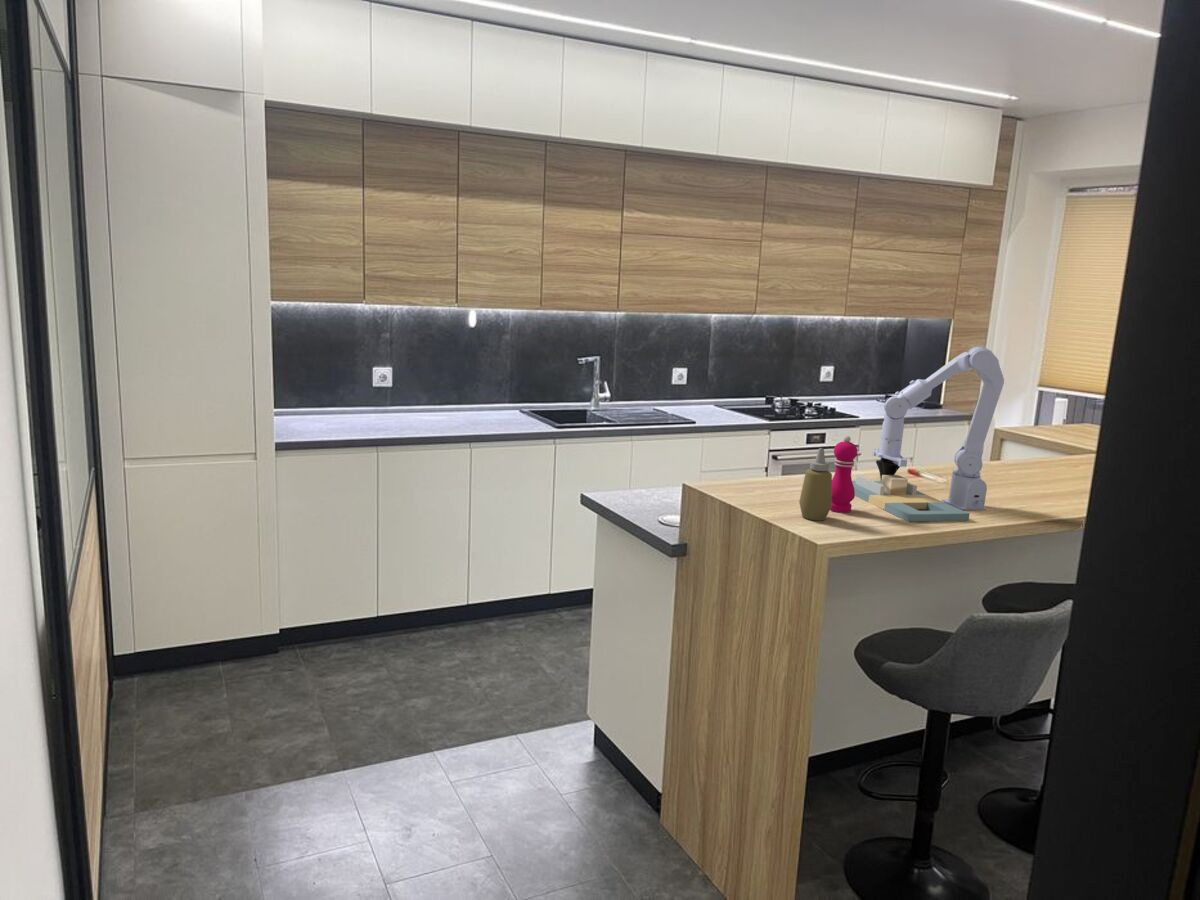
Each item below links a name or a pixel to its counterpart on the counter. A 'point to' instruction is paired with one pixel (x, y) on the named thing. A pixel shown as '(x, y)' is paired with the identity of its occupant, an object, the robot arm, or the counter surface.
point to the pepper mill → (843, 476)
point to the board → (907, 502)
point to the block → (894, 484)
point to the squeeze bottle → (817, 489)
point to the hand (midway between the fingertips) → (885, 485)
